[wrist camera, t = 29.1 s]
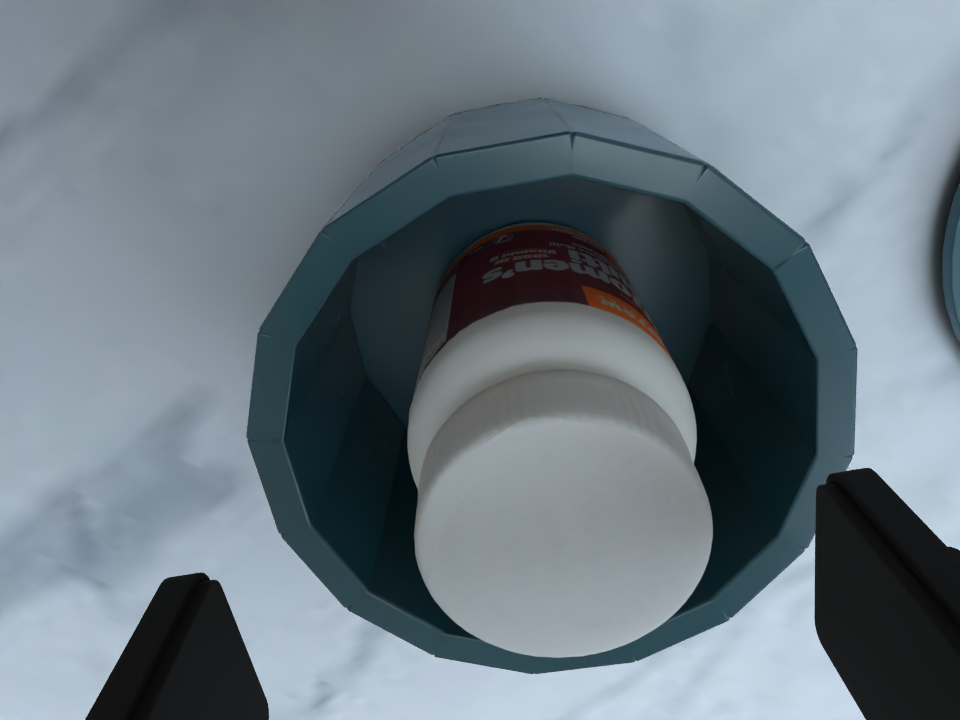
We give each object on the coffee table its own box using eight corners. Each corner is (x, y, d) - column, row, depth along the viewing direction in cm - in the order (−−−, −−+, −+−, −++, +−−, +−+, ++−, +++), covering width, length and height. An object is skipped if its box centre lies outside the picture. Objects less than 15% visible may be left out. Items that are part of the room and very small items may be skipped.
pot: (380, 503, 26) (334, 699, 18) (282, 143, 21) (164, 203, 14) (738, 453, 25) (848, 637, 18) (722, 62, 20) (866, 78, 13)
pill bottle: (652, 234, 22) (800, 412, 11) (607, 416, 24) (695, 700, 14) (445, 202, 21) (404, 356, 11) (421, 390, 24) (368, 660, 14)
